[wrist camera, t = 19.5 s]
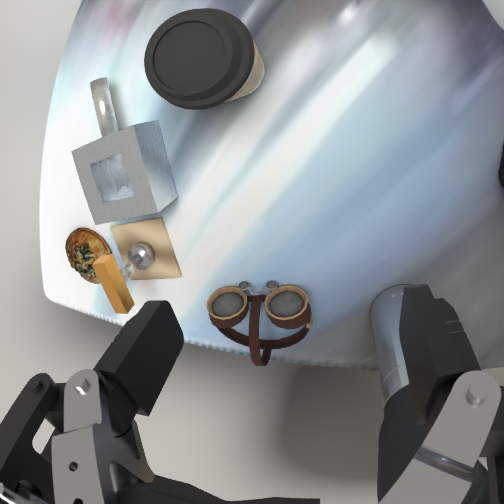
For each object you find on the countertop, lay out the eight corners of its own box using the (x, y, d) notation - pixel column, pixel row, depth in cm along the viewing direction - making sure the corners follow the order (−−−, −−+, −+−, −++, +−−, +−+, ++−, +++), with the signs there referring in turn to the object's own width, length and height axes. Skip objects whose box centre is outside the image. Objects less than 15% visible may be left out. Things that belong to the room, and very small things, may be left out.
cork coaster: (182, 275, 46) (180, 277, 45) (132, 278, 48) (131, 280, 48) (162, 216, 41) (160, 218, 41) (111, 225, 44) (109, 227, 43)
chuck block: (178, 196, 39) (158, 212, 34) (118, 209, 42) (95, 225, 37) (145, 66, 31) (119, 63, 26) (86, 94, 34) (59, 98, 29)
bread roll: (61, 233, 47) (47, 245, 43) (102, 216, 45) (88, 229, 41) (87, 281, 52) (76, 296, 48) (129, 270, 50) (118, 286, 46)
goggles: (310, 277, 41) (309, 337, 34) (314, 328, 50) (312, 380, 42) (209, 279, 45) (191, 334, 38) (230, 328, 53) (218, 376, 46)
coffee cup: (221, 26, 27) (165, -11, 14) (288, 56, 28) (271, 23, 15) (187, 88, 32) (116, 87, 19) (251, 118, 33) (210, 131, 20)
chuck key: (146, 227, 42) (108, 262, 33) (163, 273, 46) (132, 313, 37) (126, 230, 43) (87, 264, 34) (143, 274, 47) (111, 312, 38)
